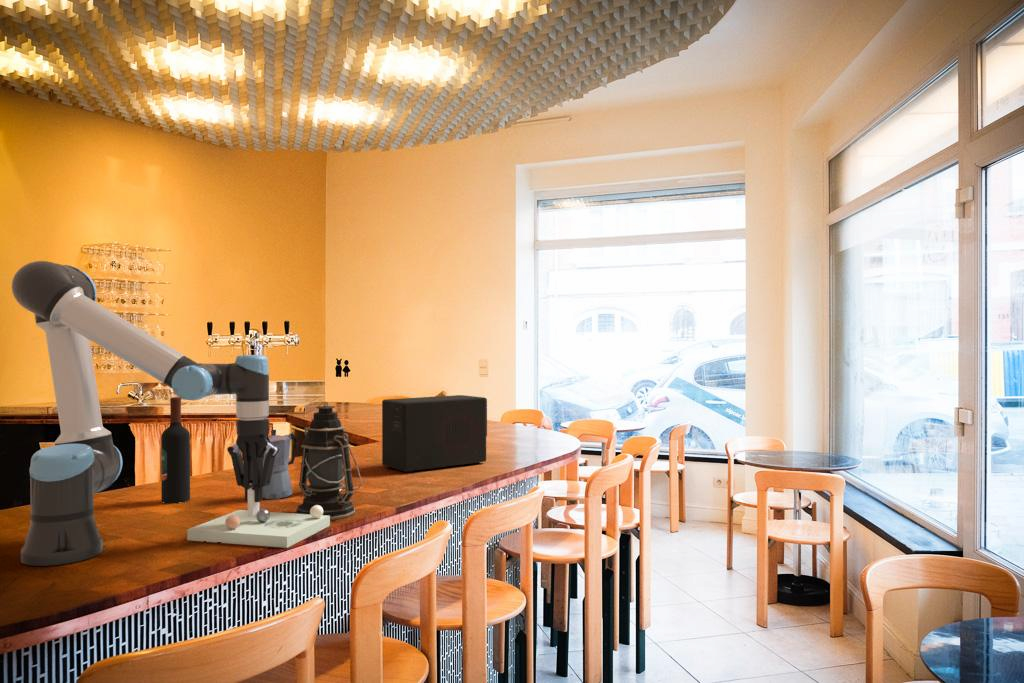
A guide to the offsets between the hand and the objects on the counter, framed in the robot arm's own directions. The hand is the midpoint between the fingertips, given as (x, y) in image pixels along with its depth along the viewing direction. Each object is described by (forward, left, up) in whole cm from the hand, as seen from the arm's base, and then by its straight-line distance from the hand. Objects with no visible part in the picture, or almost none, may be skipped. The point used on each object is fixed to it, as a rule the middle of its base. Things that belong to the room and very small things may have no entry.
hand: (253, 515), depth 177 cm
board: (0, -2, -4) cm, 5 cm away
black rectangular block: (+99, -11, -4) cm, 100 cm away
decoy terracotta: (-7, +1, 0) cm, 7 cm away
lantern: (+21, -8, -4) cm, 23 cm away
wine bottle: (+25, +42, -4) cm, 49 cm away
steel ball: (0, -2, 0) cm, 3 cm away
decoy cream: (+7, -13, 0) cm, 15 cm away
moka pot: (+38, +17, -4) cm, 42 cm away
